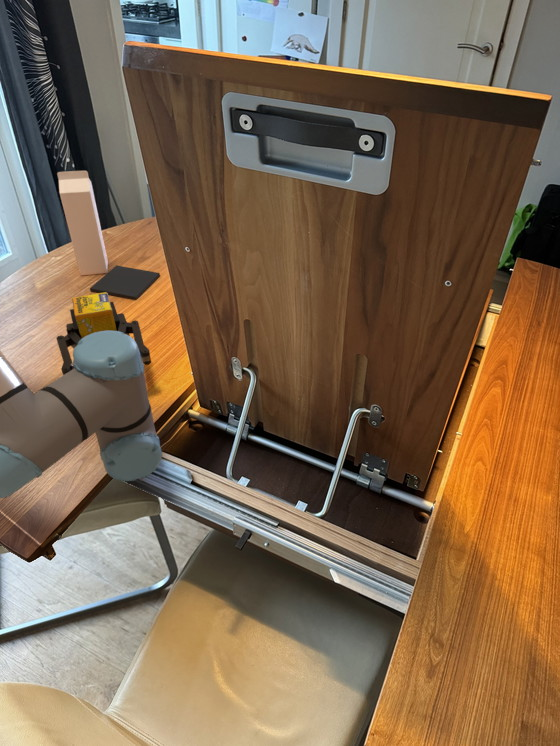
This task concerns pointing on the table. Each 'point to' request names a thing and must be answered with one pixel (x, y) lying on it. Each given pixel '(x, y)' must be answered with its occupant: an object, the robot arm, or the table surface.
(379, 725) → the table surface
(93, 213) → the milk
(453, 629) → the table surface
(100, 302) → the supplement box
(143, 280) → the mat
